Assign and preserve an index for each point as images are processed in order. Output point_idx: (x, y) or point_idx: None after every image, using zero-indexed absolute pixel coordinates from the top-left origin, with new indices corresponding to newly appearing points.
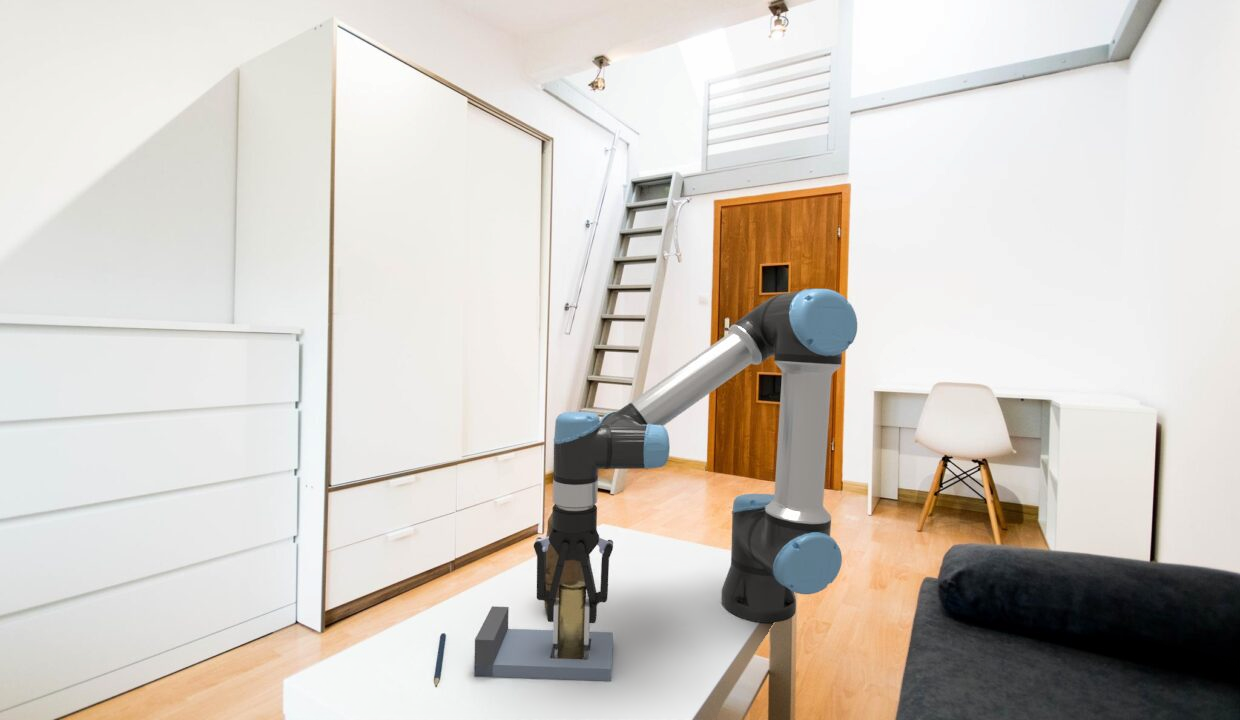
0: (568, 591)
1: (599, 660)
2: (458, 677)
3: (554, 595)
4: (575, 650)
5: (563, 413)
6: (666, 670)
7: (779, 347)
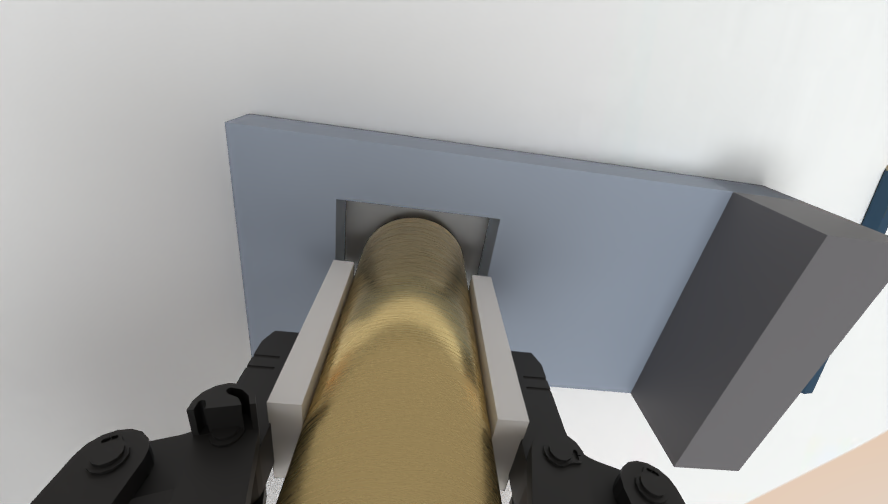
0: None
1: (288, 191)
2: (816, 184)
3: (544, 497)
4: (392, 239)
5: None
6: (26, 169)
7: None
